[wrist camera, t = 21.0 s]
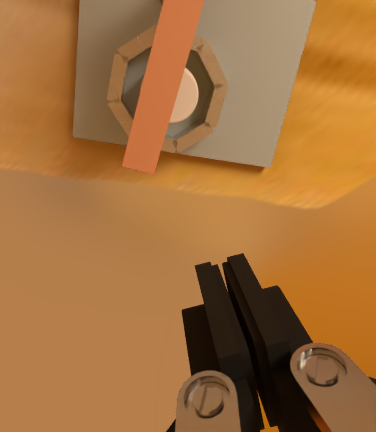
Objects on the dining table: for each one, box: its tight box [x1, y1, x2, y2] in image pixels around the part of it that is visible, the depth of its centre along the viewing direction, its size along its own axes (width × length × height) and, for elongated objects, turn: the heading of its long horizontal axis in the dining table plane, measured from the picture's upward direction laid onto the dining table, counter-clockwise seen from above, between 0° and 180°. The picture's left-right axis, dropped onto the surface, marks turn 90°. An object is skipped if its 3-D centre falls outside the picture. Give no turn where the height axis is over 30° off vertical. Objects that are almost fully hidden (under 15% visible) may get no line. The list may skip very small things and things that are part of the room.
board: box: [73, 0, 317, 168], centre depth 29 cm, size 21×17×10 cm
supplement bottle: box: [140, 68, 198, 124], centre depth 29 cm, size 5×5×8 cm
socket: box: [107, 24, 228, 154], centre depth 32 cm, size 10×10×2 cm
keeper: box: [122, 0, 205, 175], centre depth 23 cm, size 16×4×2 cm, turn 162°
